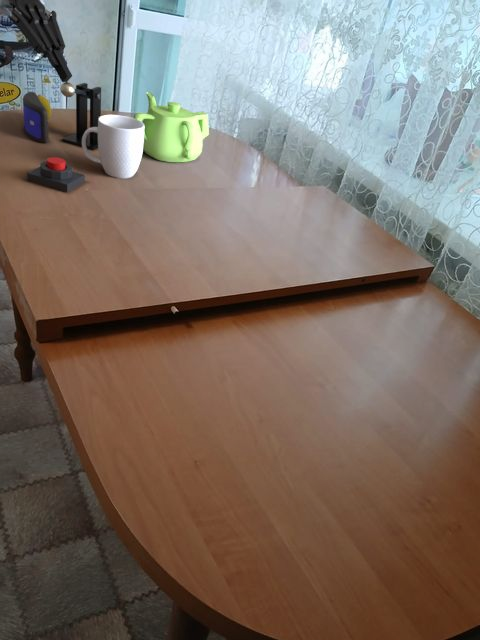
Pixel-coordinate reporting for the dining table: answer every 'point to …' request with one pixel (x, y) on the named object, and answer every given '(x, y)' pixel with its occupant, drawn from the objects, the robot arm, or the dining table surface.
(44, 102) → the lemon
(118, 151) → the mug
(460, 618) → the dining table surface
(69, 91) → the lever
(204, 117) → the teapot
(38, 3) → the robot arm
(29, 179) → the button box
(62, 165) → the button
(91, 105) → the pendulum stand
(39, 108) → the blue panel tablet
